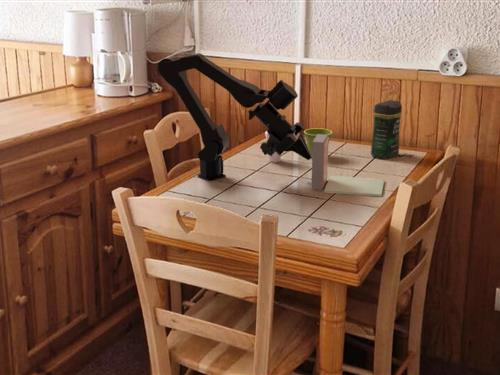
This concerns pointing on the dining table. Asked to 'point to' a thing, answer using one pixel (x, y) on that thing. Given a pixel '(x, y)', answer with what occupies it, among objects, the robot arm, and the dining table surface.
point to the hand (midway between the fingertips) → (310, 158)
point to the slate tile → (319, 161)
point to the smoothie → (275, 156)
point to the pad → (354, 186)
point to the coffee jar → (386, 129)
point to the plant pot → (313, 133)
